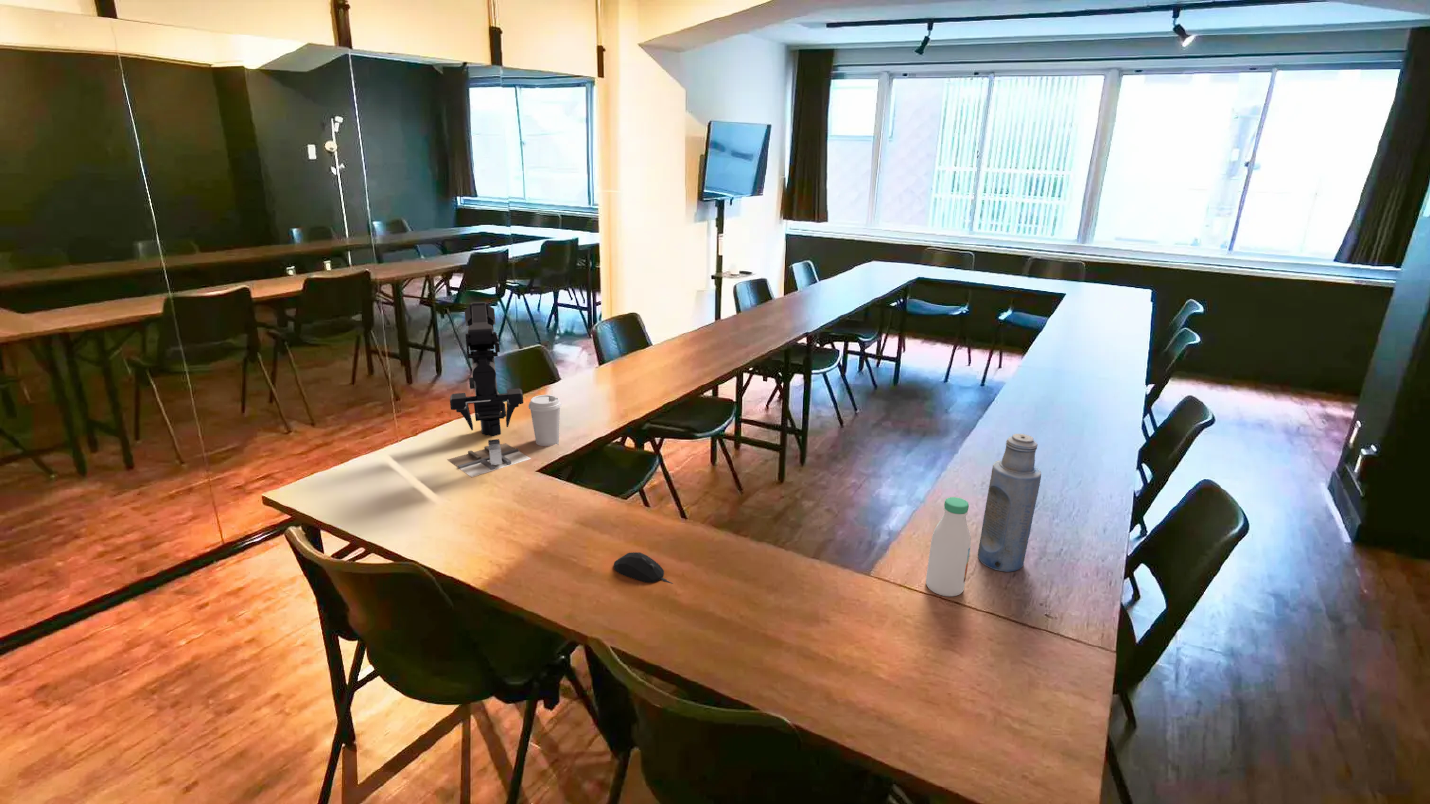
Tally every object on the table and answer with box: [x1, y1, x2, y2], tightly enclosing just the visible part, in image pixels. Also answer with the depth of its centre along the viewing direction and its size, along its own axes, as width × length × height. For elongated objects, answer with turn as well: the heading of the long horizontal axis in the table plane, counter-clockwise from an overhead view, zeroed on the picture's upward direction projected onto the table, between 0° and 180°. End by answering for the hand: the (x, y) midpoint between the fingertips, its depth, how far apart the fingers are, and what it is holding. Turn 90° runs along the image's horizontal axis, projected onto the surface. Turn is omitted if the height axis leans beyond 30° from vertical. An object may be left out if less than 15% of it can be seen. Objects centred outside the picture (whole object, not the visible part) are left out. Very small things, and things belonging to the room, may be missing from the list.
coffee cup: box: [528, 394, 562, 447], centre depth 212 cm, size 10×10×15 cm
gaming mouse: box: [613, 551, 674, 585], centre depth 152 cm, size 6×15×4 cm, turn 59°
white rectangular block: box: [487, 438, 502, 465], centre depth 198 cm, size 6×3×5 cm, turn 20°
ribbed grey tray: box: [447, 442, 532, 478], centre depth 202 cm, size 15×18×2 cm
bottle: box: [977, 433, 1042, 573], centre depth 154 cm, size 10×10×30 cm
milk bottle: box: [925, 496, 972, 598], centre depth 146 cm, size 8×8×20 cm
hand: (489, 428), depth 196 cm, fingers open, 9 cm apart
